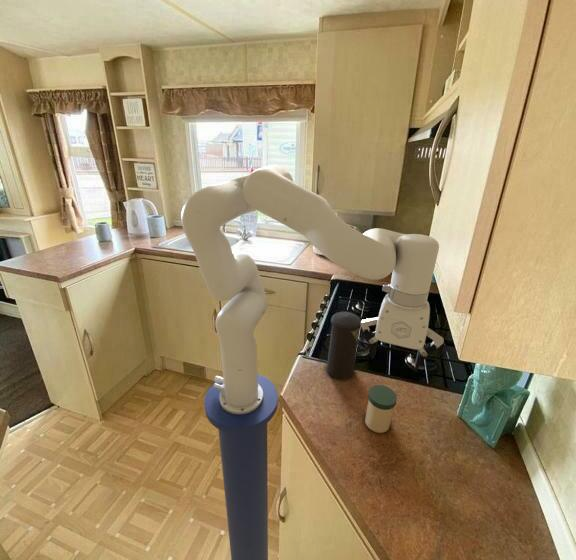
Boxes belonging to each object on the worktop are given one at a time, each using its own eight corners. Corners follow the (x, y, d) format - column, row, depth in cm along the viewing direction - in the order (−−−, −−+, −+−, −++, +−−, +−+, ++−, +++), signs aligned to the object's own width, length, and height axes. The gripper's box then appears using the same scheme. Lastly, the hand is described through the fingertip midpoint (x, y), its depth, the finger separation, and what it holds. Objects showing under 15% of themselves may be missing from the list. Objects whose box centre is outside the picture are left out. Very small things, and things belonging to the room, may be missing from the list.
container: (359, 378, 96) (367, 323, 88) (331, 382, 94) (337, 326, 86) (347, 359, 104) (354, 307, 95) (322, 363, 102) (326, 310, 93)
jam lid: (366, 405, 76) (367, 400, 76) (369, 386, 82) (370, 382, 81) (395, 413, 74) (396, 408, 74) (396, 393, 80) (397, 389, 79)
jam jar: (363, 428, 80) (368, 401, 76) (366, 410, 85) (371, 384, 81) (388, 436, 78) (394, 409, 74) (390, 416, 83) (396, 390, 79)
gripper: (362, 294, 64) (353, 360, 72) (455, 312, 59) (435, 382, 66) (368, 280, 71) (359, 342, 78) (452, 295, 65) (434, 360, 72)
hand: (394, 360), depth 72 cm, fingers open, 9 cm apart
